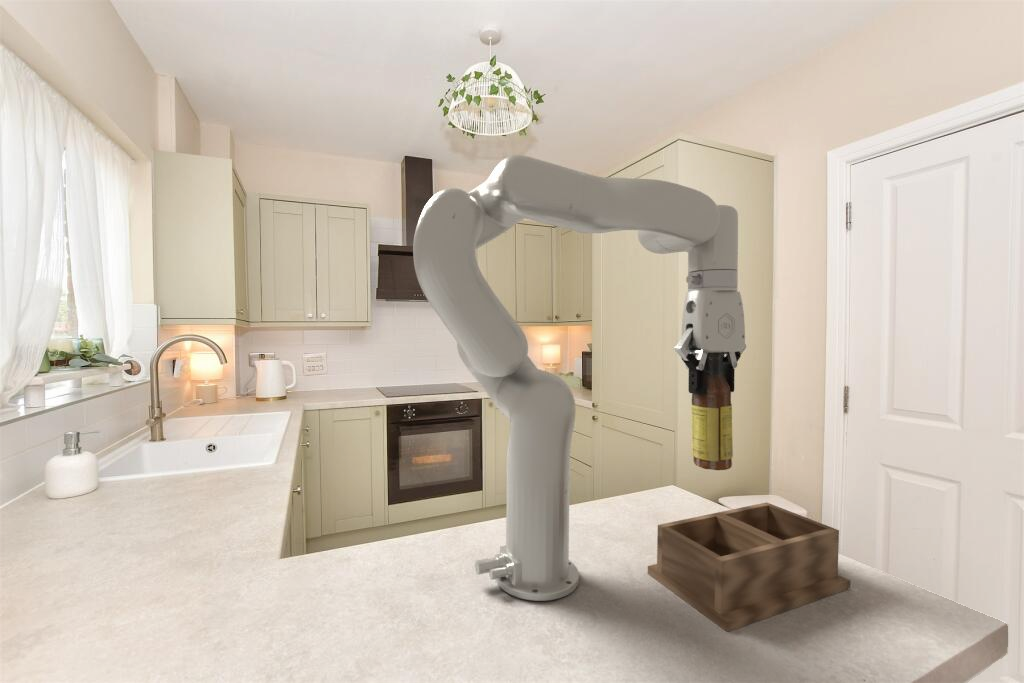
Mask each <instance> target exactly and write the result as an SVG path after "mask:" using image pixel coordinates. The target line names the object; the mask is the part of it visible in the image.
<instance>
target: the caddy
mask: <svg viewBox="0 0 1024 683" xmlns="http://www.w3.org/2000/svg"><path fill="white" fill-rule="evenodd" d="M839 543H840V530H839V529H838V528H835V527H831V526H829V525H826V524H825V523H821V522H819V521H816V520H813V519H811V518H808V517H806V516H803V515H800V514H799V513H795V512H793V511H790V510H787V509H785V508H782V507H779V506H777V505H775V504H772V503H769V502H768V501H767V502H762V503H758V504H753V505H748V506H743V507H739V508H738V507H737V508H733V509H728V510H724V511H718V512H714V513H710V514H709V513H708V514H705V515H700V516H694V517H691V518H690V517H689V518H685V519H681V520H680V519H679V520H676V521H671V522H665V523H660V524H657V547H656V563H655V564H650V565H647V574H648V575H649V576H650V577H651V578H653V579H654V580H656V581H657V582H658V583H660V584H661V585H662V586H664V587H665V588H667V590H669V591H671V592H672V593H674V594H675V595H676V596H678V597H679V598H680V599H682V600H683V601H684V602H685V603H687V604H689V605H690V606H691V607H692V608H694V609H695V610H697V611H698V612H699V613H701V614H702V615H703V616H705V617H707V618H708V619H709V620H710V621H712V622H713V623H714V624H716V625H717V626H719V627H720V628H721V629H723V630H724V631H726V633H729V632H730V631H734V630H736V629H739V628H742V627H745V626H748V625H751V624H755V623H756V622H759V621H762V620H765V619H768V618H770V617H774V616H777V615H779V614H782V613H784V612H788V611H790V610H793V609H795V608H798V607H799V608H800V607H802V606H805V605H808V604H810V603H813V602H817V601H819V600H821V599H824V598H828V597H831V596H832V595H835V594H838V592H839V593H841V591H842V592H843V591H844V590H845V591H847V590H849V589H848V588H850V589H851V580H850V579H848V578H846V577H844V576H842V575H839V550H840V548H839V547H840V546H839V545H840V544H839Z"/></svg>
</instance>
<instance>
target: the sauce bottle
mask: <svg viewBox="0 0 1024 683" xmlns="http://www.w3.org/2000/svg"><path fill="white" fill-rule="evenodd" d="M698 350H701V348H698ZM723 356H725V354H724V352H714V353H709V352H708V354H707V357H706V361H705V365H704V368H703V370H706V372H707V392H706V394H705V395H699V394H693V393H691V450H692V451H691V452H692V453H691V454H692V457H693V464H694V465H695V466H697V467H699V468H702V469H704V470H713V471H714V470H715V471H727V470H729V469H731V468H732V466H733V461H732V459H733V456H734V454H733V451H734V450H733V449H734V448H733V405H732V392H731V391H730V386H729V384H728V383H727V381H726V379H725V377H724V375H723V372H724V371H723ZM698 357H699V355H697V358H698Z"/></svg>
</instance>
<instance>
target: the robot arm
mask: <svg viewBox="0 0 1024 683" xmlns="http://www.w3.org/2000/svg"><path fill="white" fill-rule="evenodd" d="M524 219H526V220H529V221H535V222H538V223H542V224H546V225H550V226H554V227H558V228H561V229H565V230H570V231H573V232H577V233H580V234H604V233H611V232H619V231H637V238H638V241H639V243H640V245H641V246H642V247H643V248H644V249H645V250H647V251H649V252H650V253H653V254H658V255H659V254H661V255H665V254H666V255H667V254H674V253H675V254H676V253H682V252H687V276H686V279H685V281H686V283H687V291H686V293H685V298H684V304H683V309H682V310H683V311H682V319H681V320H682V321H681V337H680V339H679V340H678V342H677V343H676V345H675V347H674V350H675V352H676V353H677V355H679V357H680V358H681V360H682V361H683V363H684V364H685V369H687V370H688V393H689V394H692V393H693V394H699V395H705V394H706V392H707V372H706V370H703V368H704V365H705V361H706V357H707V354H708V352H709V353H714V352H724V356H723V371H724V372H723V375H724V377H725V379H726V381H727V383H728V384H729V386H730V391H731V393H734V392H735V369H736V368H737V367H738V361H739V360H740V358H741V355H742V354H743V352H744V351H745V350H746V348H747V344H746V329H745V328H746V327H745V326H746V325H745V323H746V322H745V314H744V313H745V312H744V306H743V305H744V304H743V301H742V300H743V299H742V296H741V291H738V277H739V276H738V272H739V269H738V266H739V264H738V263H739V261H738V260H739V258H738V257H739V215H738V211H737V209H736V208H735V207H734V206H732V205H727V204H717V203H716V202H715V201H714V200H713V199H712V198H711V197H710V196H709V195H707V194H706V193H704V192H702V191H700V190H697V189H695V188H691V187H688V186H684V185H682V184H679V183H675V182H671V181H667V180H661V179H660V180H659V179H653V178H632V177H631V178H629V177H628V178H627V177H604V176H603V177H602V176H597V175H593V174H589V173H586V172H584V171H583V172H582V171H578V170H575V169H573V168H570V167H569V168H568V167H566V166H561V165H559V164H555V163H551V162H549V161H545V160H541V159H538V158H535V157H532V156H531V157H530V156H526V155H521V154H516V155H510V156H508V157H507V156H506V157H505V158H503V159H502V160H501V161H500V162H499V163H497V165H496V166H495V167H494V169H493V170H492V172H491V173H490V175H489V176H488V178H487V179H486V180H485V181H484V182H483V183H481V184H480V185H478V186H477V187H475V188H474V189H472V190H470V191H469V192H467V191H465V190H463V189H461V188H455V187H453V188H452V187H451V188H445V189H442V190H440V191H438V192H436V193H435V194H434V195H432V196H431V198H429V200H428V201H427V202H426V204H425V205H424V207H423V209H422V212H421V214H420V216H419V218H418V221H417V224H416V227H415V232H414V236H413V243H412V244H413V245H412V246H413V247H412V251H413V252H412V254H413V266H414V271H415V275H416V278H417V281H418V284H419V287H420V288H421V290H422V293H423V294H424V297H425V298H426V299H427V301H428V303H429V304H430V306H431V307H432V309H433V310H434V312H435V313H436V314H437V316H438V317H439V318H440V320H441V321H442V323H443V325H444V326H445V327H446V329H447V330H448V331H449V332H450V334H451V335H452V337H453V338H454V340H455V341H456V348H457V352H458V355H459V358H460V359H461V361H462V363H463V364H464V366H465V367H466V369H467V370H469V373H470V374H471V375H472V376H473V377H474V380H475V381H477V382H478V384H479V385H480V387H481V388H482V389H483V391H484V392H485V393H486V395H487V396H488V397H489V399H490V400H491V401H492V402H493V404H494V405H495V406H496V407H497V409H498V410H499V411H500V412H501V414H503V415H504V416H505V418H507V419H508V420H509V425H510V426H509V436H508V440H507V441H508V442H507V450H506V453H507V454H506V517H505V518H506V519H505V521H506V526H505V527H506V528H505V529H506V530H505V531H506V534H505V539H506V541H505V542H506V543H505V544H506V545H501V546H499V553H498V554H495V555H494V557H490V558H483V559H478V560H475V562H474V568H475V573H476V575H477V576H478V575H480V576H481V575H484V574H489V578H490V580H496V582H497V585H498V587H500V588H501V590H503V591H504V592H506V593H507V594H509V595H511V596H513V597H516V598H518V599H522V600H527V601H535V602H543V601H544V602H545V601H547V602H548V601H554V600H557V599H562V598H563V597H566V596H568V595H570V594H571V593H572V592H574V591H575V589H576V588H577V587H578V585H579V581H580V575H579V573H580V572H579V569H578V568H577V566H576V564H574V563H573V562H572V561H571V560H570V558H569V557H570V556H569V554H570V550H569V548H570V486H571V484H570V481H571V479H570V478H571V477H570V476H571V475H570V473H571V470H570V469H571V467H570V466H571V448H572V441H573V440H572V439H573V434H574V426H575V421H576V402H575V396H574V395H573V392H572V390H571V387H570V386H569V385H568V384H567V383H566V382H565V381H564V380H563V379H562V378H561V377H560V376H558V375H556V374H554V373H553V372H549V371H546V370H542V369H538V367H537V365H535V363H534V361H532V359H531V358H530V357H529V355H528V353H529V344H528V339H527V337H526V334H525V332H524V331H523V329H522V328H521V326H520V325H519V324H518V322H517V321H516V320H515V319H514V318H513V316H512V315H511V313H509V311H508V310H507V308H506V307H505V306H504V304H503V303H502V302H501V300H500V299H499V298H498V296H497V295H496V293H495V291H493V289H492V288H491V286H490V285H489V283H488V282H487V280H486V278H485V276H484V275H483V273H482V271H481V269H480V267H479V264H478V261H477V254H476V250H477V249H479V248H480V247H482V246H483V245H485V244H488V243H489V242H491V241H493V240H494V239H496V238H498V237H499V236H501V235H502V234H504V233H506V232H507V231H509V230H510V229H511V228H513V227H515V226H516V225H517V224H519V223H520V222H522V221H523V220H524ZM698 348H701V350H698ZM698 355H699V357H698Z"/></svg>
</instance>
